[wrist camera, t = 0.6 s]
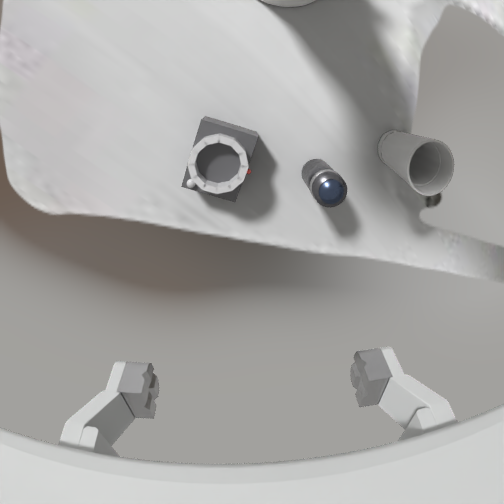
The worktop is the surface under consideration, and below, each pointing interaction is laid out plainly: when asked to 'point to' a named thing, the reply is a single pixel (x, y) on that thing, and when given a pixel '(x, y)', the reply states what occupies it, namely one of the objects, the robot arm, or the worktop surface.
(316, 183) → the lens
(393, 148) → the cup
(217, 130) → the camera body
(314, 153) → the worktop surface
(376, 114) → the worktop surface
